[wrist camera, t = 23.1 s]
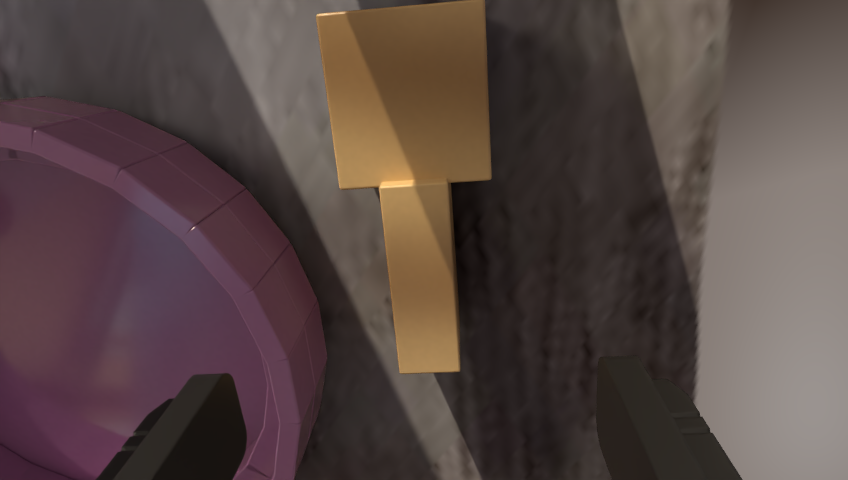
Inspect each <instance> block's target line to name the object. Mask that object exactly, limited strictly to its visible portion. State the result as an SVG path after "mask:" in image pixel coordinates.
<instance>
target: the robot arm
mask: <svg viewBox="0 0 848 480" xmlns="http://www.w3.org/2000/svg"><path fill="white" fill-rule="evenodd" d="M596 423H597V432H598V438H599V443H600V447H601V450H602V453H603V456H604V458H605V461H606V464H607V467H608V470H609V473H610V475H611V478H612V480H742V478H741V477H740V475H739V474H738V472H737V471H736V469H735V467H734V466H733V464H732V463H731V461H730V460H729V458H728V456H727V455H726V453H725V452H724V450H723V449H722V447H721V445H720V444H719V442H718V441H717V439H716V438H715V436H714V435H713V433H710V428H709V427H708V425H707V424H706V422H705V421H704V419H703V417H700V413H699V411H698V410H697V408H696V406H695V405H694V403H693V402H692V400H691V399H690V397H689V396H688V394H687V393H685V392H684V391H683V390H681V389H680V388H679V387H677V386H676V385H675V384H673V383H672V382H671V381H669V380H668V379H651V378H650V376H649V374H648V373H647V371H646V369H645V367H644V366H643V364H642V362H641V360H640V359H639V357H638V356H614V357H600V358H599V361H598V378H597V410H596ZM246 445H247V431H246V426H245V422H244V418H243V414H242V410H241V406H240V402H239V398H238V394H237V390H236V386H235V382H234V379H233V377H232V376H231V375H230V374H229V373H217V374H195V375H193V376H192V377H191V378H190V379H189V380H188V381H187V383H186V384H185V385H184V387H183V388H182V389H181V390H180V392H179V393H178V394H177V396H176V397H175V398H171V399H168V400H166V401H165V402H164V403H162V404H161V405H160V406H158V407H157V408H156V409H154V410H153V411H152V412H150V413H149V414H148V415H147V416H146V417H145V418H144V420H143V421H142V422H141V423H140V425H139V426H138V427H137V428H136V430H135V431H134V432H133V436H130V437H129V439H128V440H127V441H126V442H125V444H124V445H123V446H122V447H121V452H117V454H116V455H115V456H114V457H113V459H112V460H111V461H110V462H109V464H108V465H107V466H106V467H105V469H104V470H103V471H102V472H101V474H100V475H99V476H98V477H97V479H96V480H233V478H234V476H235V474H236V472H237V470H238V468H239V466H240V464H241V462H242V460H243V458H244V455H245V451H246Z"/></svg>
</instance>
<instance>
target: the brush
mask: <svg viewBox="0 0 848 480" xmlns="http://www.w3.org/2000/svg"><path fill="white" fill-rule="evenodd" d="M316 21H317V28H318V35H319V42H320V50H321V57H322V64H323V71H324V79H325V86H326V93H327V100H328V107H329V115H330V122H331V129H332V136H333V144H334V151H335V158H336V165H337V172H338V180H339V187H340V189H342V190H348V189H363V188H379V194H380V203H381V212H382V220H383V229H384V238H385V247H386V256H387V265H388V274H389V283H390V291H391V300H392V309H393V318H394V327H395V336H396V345H397V353H398V362H399V371H400V374H416V373H442V372H459V371H460V370H461V369H460V315H459V300H458V284H457V269H456V254H455V238H454V223H453V208H452V192H451V183H456V182H471V181H486V180H491V178H492V174H491V148H490V122H489V96H488V70H487V43H486V17H485V1H484V0H464V1H453V2H442V3H431V4H420V5H409V6H398V7H387V8H376V9H365V10H354V11H343V12H332V13H321V14H317V15H316Z"/></svg>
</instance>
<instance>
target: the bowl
mask: <svg viewBox="0 0 848 480" xmlns="http://www.w3.org/2000/svg"><path fill="white" fill-rule="evenodd" d="M326 364H327V351H326V345H325V339H324V333H323V327H322V321H321V315H320V309H319V303H318V301H317V298H316V296H315V294H314V291H313V289H312V287H311V285H310V283H309V281H308V279H307V276H306V274H305V272H304V270H303V268H302V266H301V264H300V261H299V259H298V257H297V255H296V253H295V251H294V249H293V246H292V245H291V244H290V241H289V240H288V239H287V237H286V236H285V235H284V234H283V233H282V231H281V230H280V229H279V228H278V226H277V225H276V224H275V223H274V221H273V220H272V219H271V218H270V216H269V215H268V214H267V213H266V212H265V210H264V209H263V208H262V207H261V205H260V204H259V203H258V202H257V200H256V199H255V198H254V197H253V195H252V194H251V193H250V192H249V191H248V190H247V189H246V188H245V187H244V186H243V185H242V184H241V183H239V182H238V181H237V180H235V179H234V178H233V177H232V176H230V175H229V174H228V173H226V172H225V171H224V170H223V169H221V168H220V167H219V166H217V165H216V164H215V163H214V162H212V161H211V160H210V159H208V158H207V157H206V156H205V155H203V154H202V153H201V152H199V151H198V150H197V149H196V148H194V147H193V146H192V145H190V144H189V143H187V142H186V141H184V140H182V139H180V138H178V137H175V136H173V135H171V134H169V133H167V132H165V131H162V130H160V129H158V128H156V127H154V126H152V125H149V124H147V123H145V122H143V121H141V120H139V119H136V118H134V117H132V116H130V115H128V114H126V113H123V112H121V111H117V110H115V109H110V108H104V107H99V106H94V105H89V104H84V103H78V102H73V101H68V100H63V99H58V98H52V97H46V96H39V97H27V98H15V99H3V100H0V480H96V479H97V477H98V476H99V475H100V474H101V472H102V471H103V470H104V469H105V467H106V466H107V465H108V464H109V462H110V461H111V460H112V459H113V457H114V456H115V455H116V454H117V452H121V447H122V446H123V445H124V444H125V442H126V441H127V440H128V439H129V437H130V436H133V432H134V431H135V430H136V428H137V427H138V426H139V425H140V423H141V422H142V421H143V420H144V418H145V417H146V416H147V415H148V414H149V413H150V412H152V411H153V410H154V409H156V408H157V407H158V406H160V405H161V404H162V403H164V402H165V401H166V400H168V399H171V398H175V397H176V396H177V394H178V393H179V392H180V390H181V389H182V388H183V387H184V385H185V384H186V383H187V381H188V380H189V379H190V378H191V377H192V376H193V375H195V374H217V373H229V374H230V375H231V376H232V377H233V379H234V382H235V386H236V390H237V394H238V398H239V402H240V406H241V410H242V414H243V418H244V422H245V426H246V431H247V445H246V451H245V455H244V458H243V460H242V462H241V464H240V466H239V468H238V470H237V472H236V474H235V476H234V478H233V480H294V479H295V476H296V474H297V471H298V468H299V466H300V463H301V460H302V457H303V455H304V452H305V449H306V446H307V443H308V441H309V438H310V435H311V432H312V430H313V427H314V424H315V422H316V419H317V416H318V413H319V411H320V407H321V401H322V393H323V386H324V379H325V372H326Z"/></svg>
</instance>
